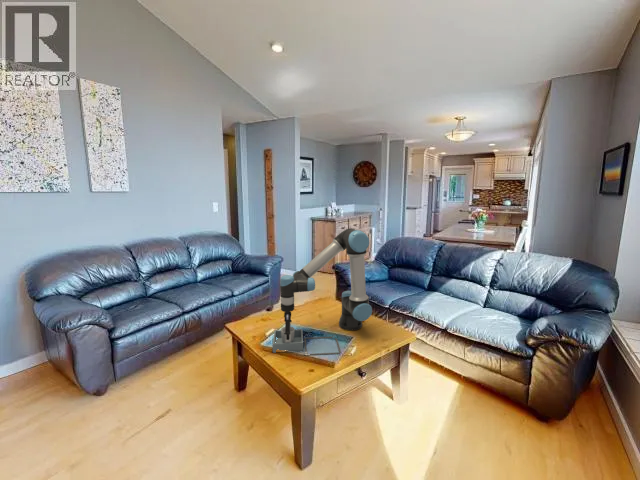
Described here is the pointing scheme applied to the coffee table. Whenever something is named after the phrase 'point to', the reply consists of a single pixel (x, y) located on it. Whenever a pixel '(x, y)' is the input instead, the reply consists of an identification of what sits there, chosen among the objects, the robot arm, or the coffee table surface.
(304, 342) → the square tray frame
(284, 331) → the cup
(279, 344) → the bin
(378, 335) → the coffee table surface
